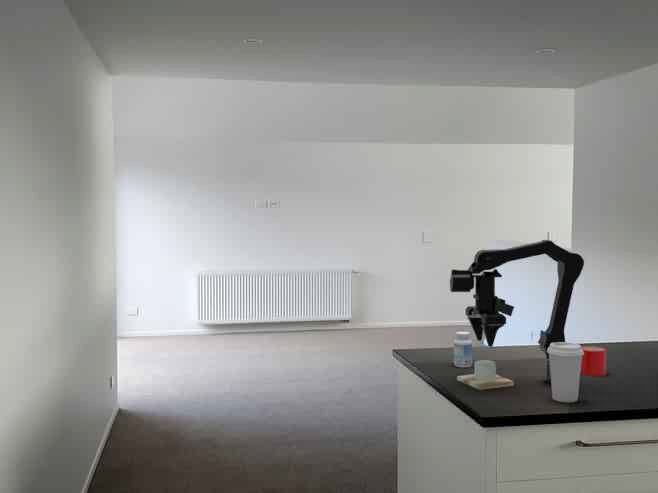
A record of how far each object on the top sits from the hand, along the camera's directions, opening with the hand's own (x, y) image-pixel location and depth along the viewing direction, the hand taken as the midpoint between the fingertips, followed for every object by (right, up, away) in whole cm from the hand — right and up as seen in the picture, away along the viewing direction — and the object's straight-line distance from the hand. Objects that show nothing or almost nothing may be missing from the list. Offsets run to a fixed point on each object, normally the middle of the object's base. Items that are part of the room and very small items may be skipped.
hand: (484, 343), depth 195 cm
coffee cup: (+18, -13, -17) cm, 28 cm away
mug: (+35, -11, +12) cm, 39 cm away
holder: (0, -12, +1) cm, 12 cm away
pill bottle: (-2, -11, +22) cm, 25 cm away
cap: (0, -11, +1) cm, 11 cm away
